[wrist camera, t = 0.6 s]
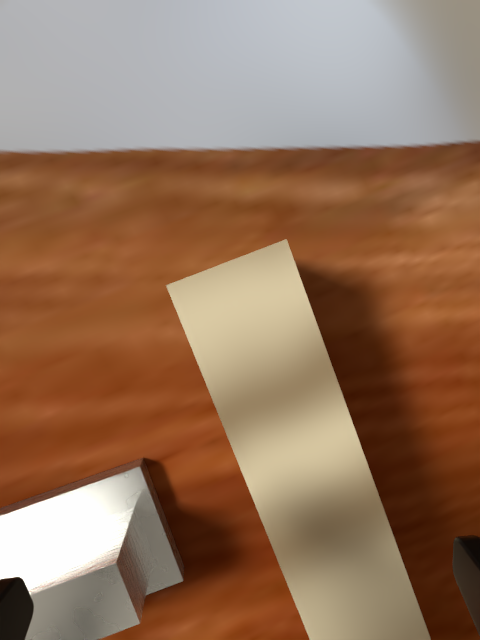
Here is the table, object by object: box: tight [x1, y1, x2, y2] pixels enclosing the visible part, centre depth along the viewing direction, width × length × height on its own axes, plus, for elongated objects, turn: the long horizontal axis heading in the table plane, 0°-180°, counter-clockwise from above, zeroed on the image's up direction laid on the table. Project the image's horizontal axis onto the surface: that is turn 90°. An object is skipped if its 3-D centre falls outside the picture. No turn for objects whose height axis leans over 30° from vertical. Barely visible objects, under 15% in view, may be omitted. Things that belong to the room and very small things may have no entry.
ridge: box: [0, 458, 185, 640], centre depth 18 cm, size 7×12×5 cm, turn 108°
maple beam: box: [166, 239, 431, 640], centre depth 18 cm, size 24×5×6 cm, turn 21°
